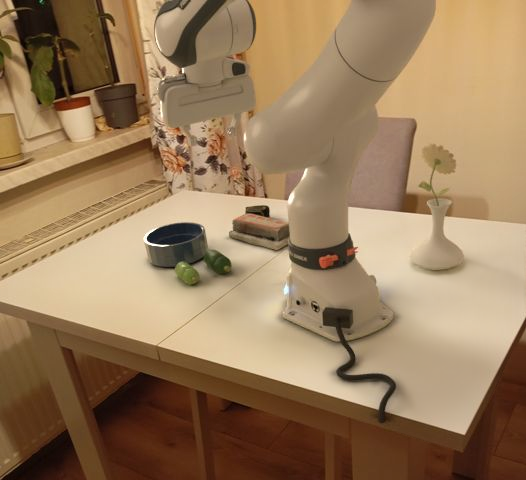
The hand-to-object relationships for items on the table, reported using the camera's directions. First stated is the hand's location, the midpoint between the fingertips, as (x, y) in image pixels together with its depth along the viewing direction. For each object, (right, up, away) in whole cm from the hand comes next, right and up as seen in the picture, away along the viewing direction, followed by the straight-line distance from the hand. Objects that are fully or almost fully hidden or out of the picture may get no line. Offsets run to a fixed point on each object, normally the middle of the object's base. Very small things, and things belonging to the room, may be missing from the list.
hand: (213, 140), depth 121 cm
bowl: (-11, -20, +24) cm, 33 cm away
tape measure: (+9, -8, +39) cm, 41 cm away
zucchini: (0, -25, +14) cm, 29 cm away
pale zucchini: (-7, -28, +11) cm, 31 cm away
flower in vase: (+48, -25, +5) cm, 55 cm away
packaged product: (+11, -15, +28) cm, 34 cm away
